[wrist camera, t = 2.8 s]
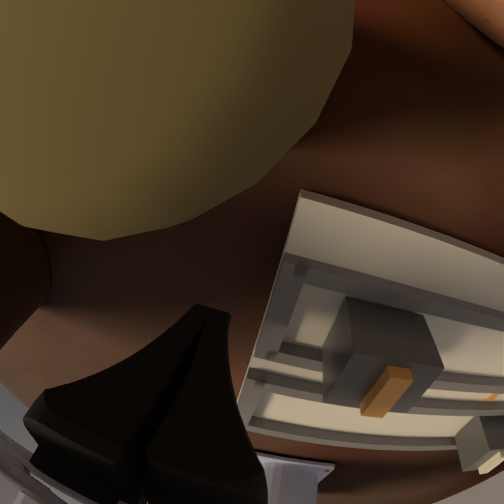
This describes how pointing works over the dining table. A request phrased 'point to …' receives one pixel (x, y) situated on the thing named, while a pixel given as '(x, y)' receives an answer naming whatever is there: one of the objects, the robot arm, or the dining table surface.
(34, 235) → the olive oil
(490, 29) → the ceramic jug
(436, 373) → the fader tab
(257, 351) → the console board
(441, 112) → the dining table surface
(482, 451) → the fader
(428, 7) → the dining table surface
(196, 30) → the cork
